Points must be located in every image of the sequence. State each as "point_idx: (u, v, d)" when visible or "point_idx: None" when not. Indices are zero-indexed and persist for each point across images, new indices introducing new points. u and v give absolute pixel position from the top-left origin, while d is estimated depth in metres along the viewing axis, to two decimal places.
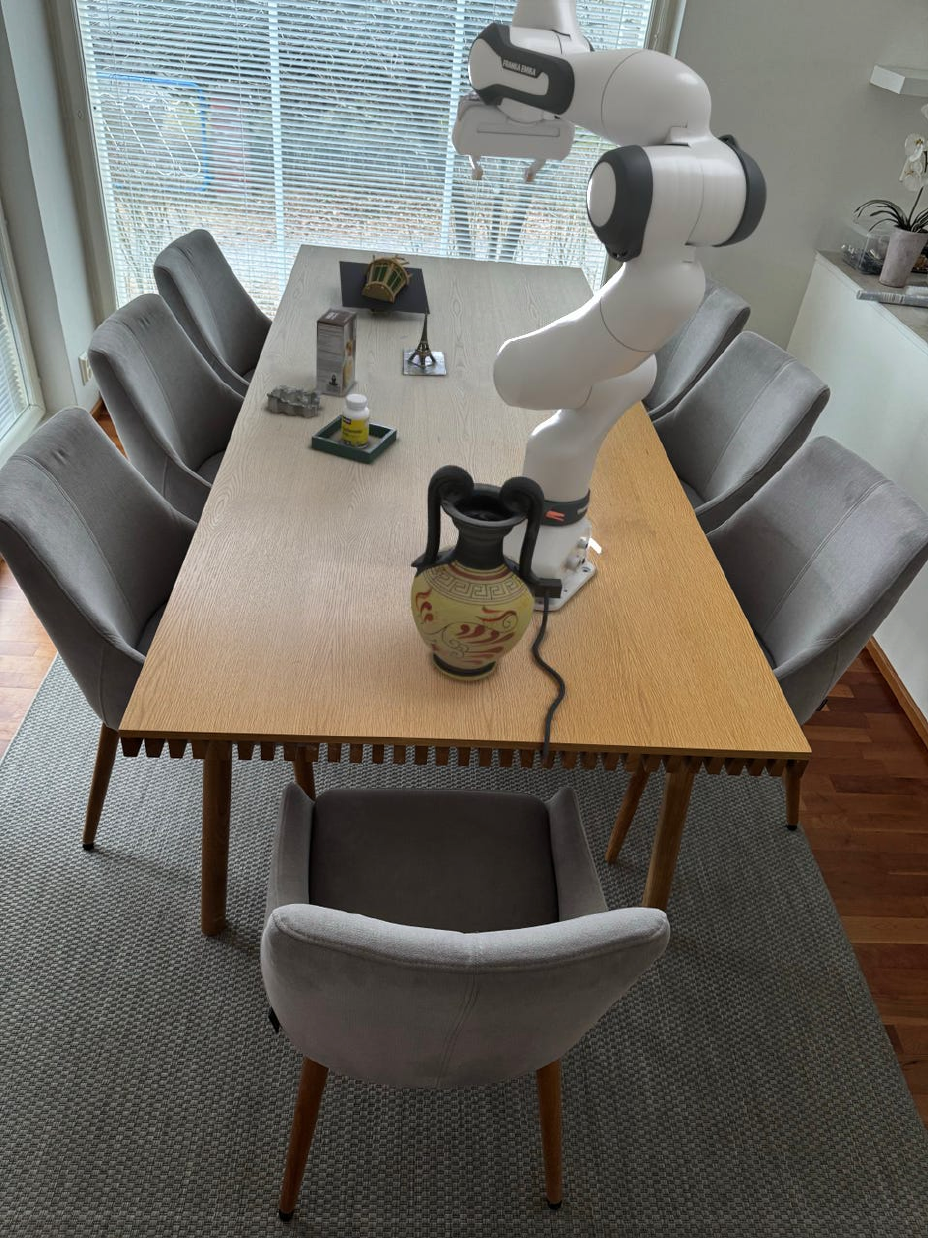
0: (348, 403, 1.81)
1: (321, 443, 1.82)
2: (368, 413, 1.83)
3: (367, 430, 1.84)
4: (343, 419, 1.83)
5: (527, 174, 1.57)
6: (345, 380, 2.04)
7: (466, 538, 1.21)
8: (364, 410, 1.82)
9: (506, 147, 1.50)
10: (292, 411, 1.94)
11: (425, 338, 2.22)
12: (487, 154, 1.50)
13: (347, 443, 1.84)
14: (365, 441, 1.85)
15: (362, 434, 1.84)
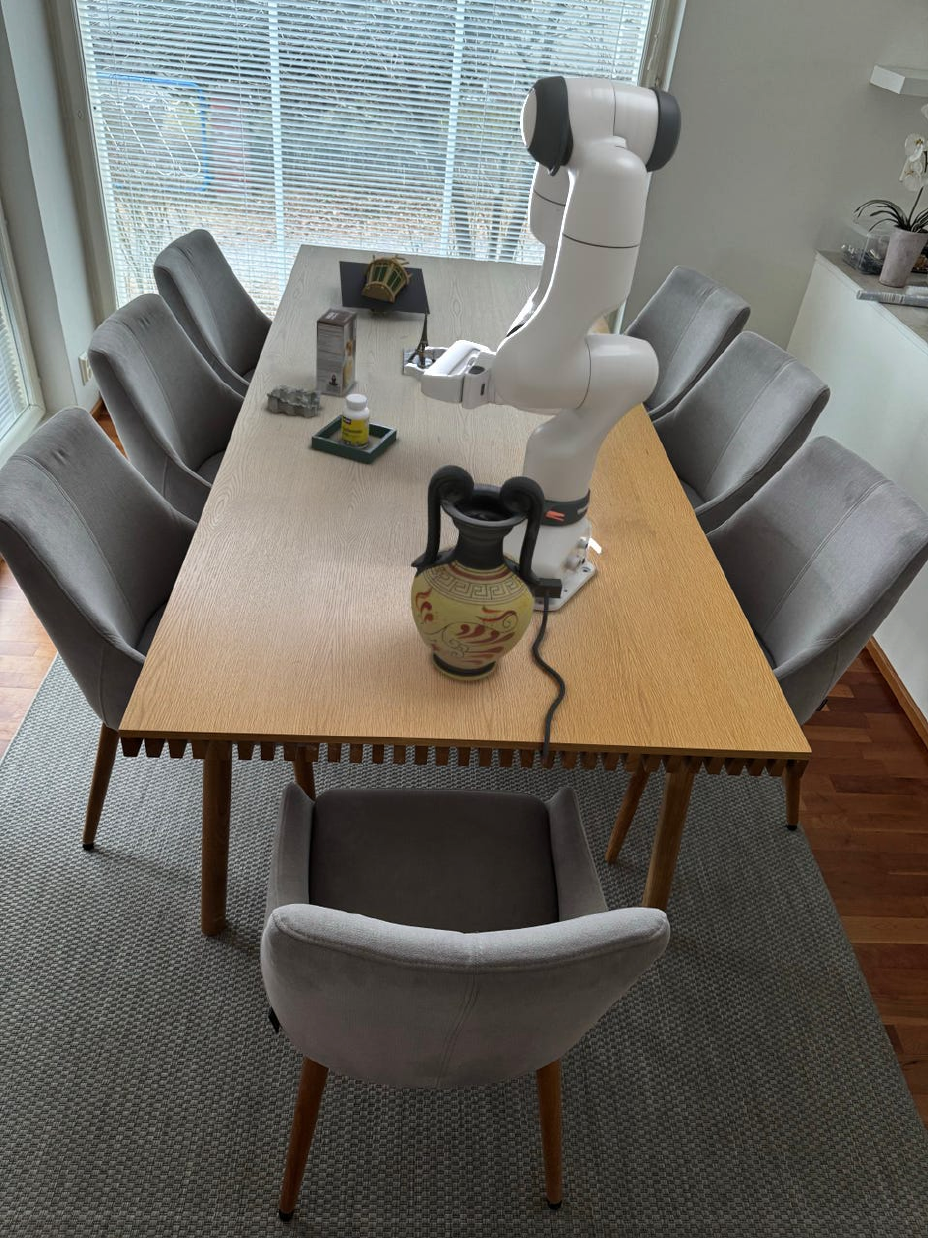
0: (348, 403, 1.81)
1: (321, 443, 1.82)
2: (368, 413, 1.83)
3: (367, 430, 1.84)
4: (343, 419, 1.83)
5: (415, 365, 1.68)
6: (345, 380, 2.04)
7: (466, 538, 1.21)
8: (364, 410, 1.82)
9: (452, 355, 1.71)
10: (292, 411, 1.94)
11: (425, 338, 2.22)
12: (450, 348, 1.73)
13: (347, 443, 1.84)
14: (365, 441, 1.85)
15: (362, 434, 1.84)
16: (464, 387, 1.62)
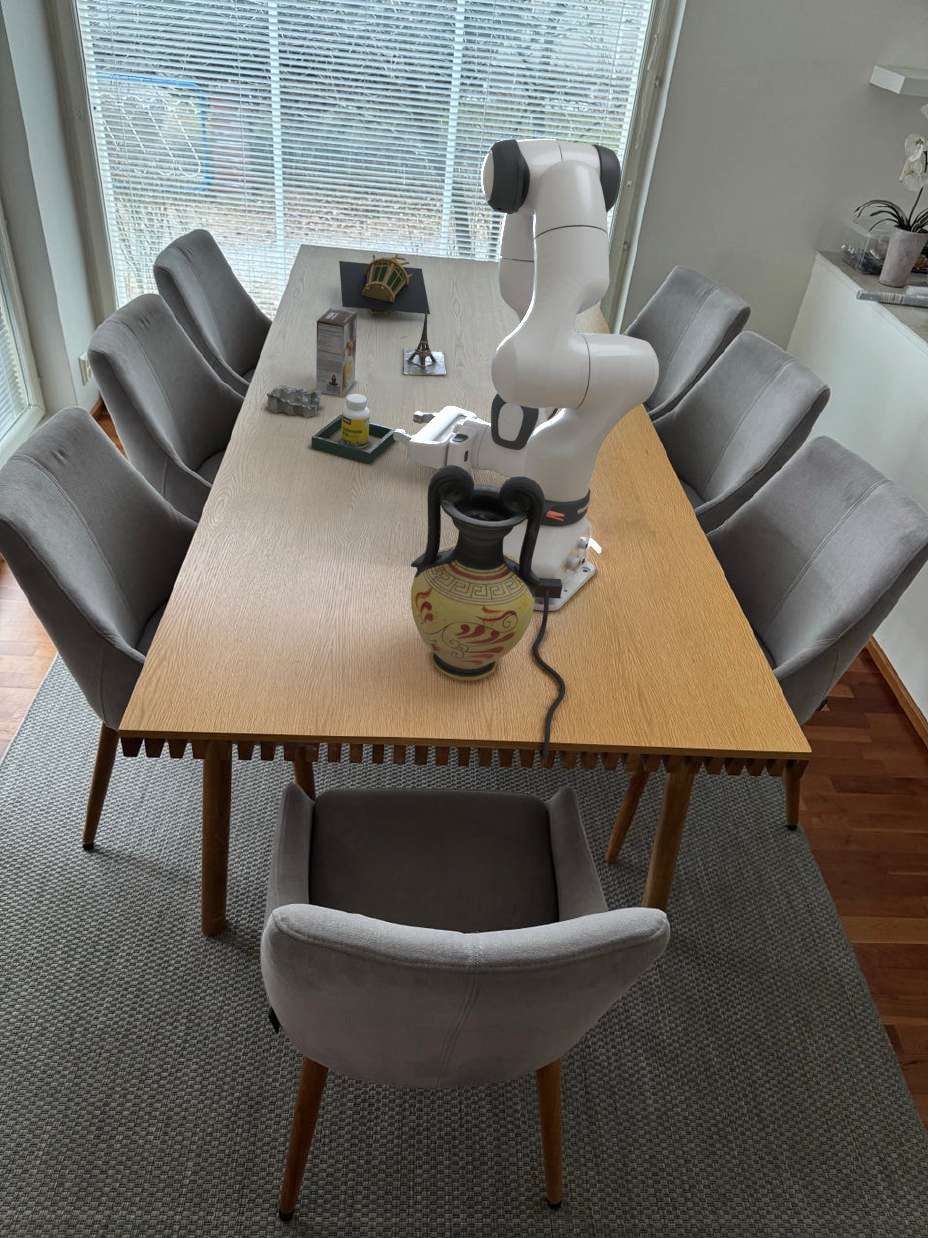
0: (348, 403, 1.81)
1: (321, 443, 1.82)
2: (368, 413, 1.83)
3: (367, 430, 1.84)
4: (343, 419, 1.83)
5: None
6: (345, 380, 2.04)
7: (466, 538, 1.21)
8: (364, 410, 1.82)
9: (439, 421, 1.79)
10: (292, 411, 1.94)
11: (425, 338, 2.22)
12: (438, 414, 1.82)
13: (347, 443, 1.84)
14: (365, 441, 1.85)
15: (362, 434, 1.84)
16: (448, 454, 1.71)
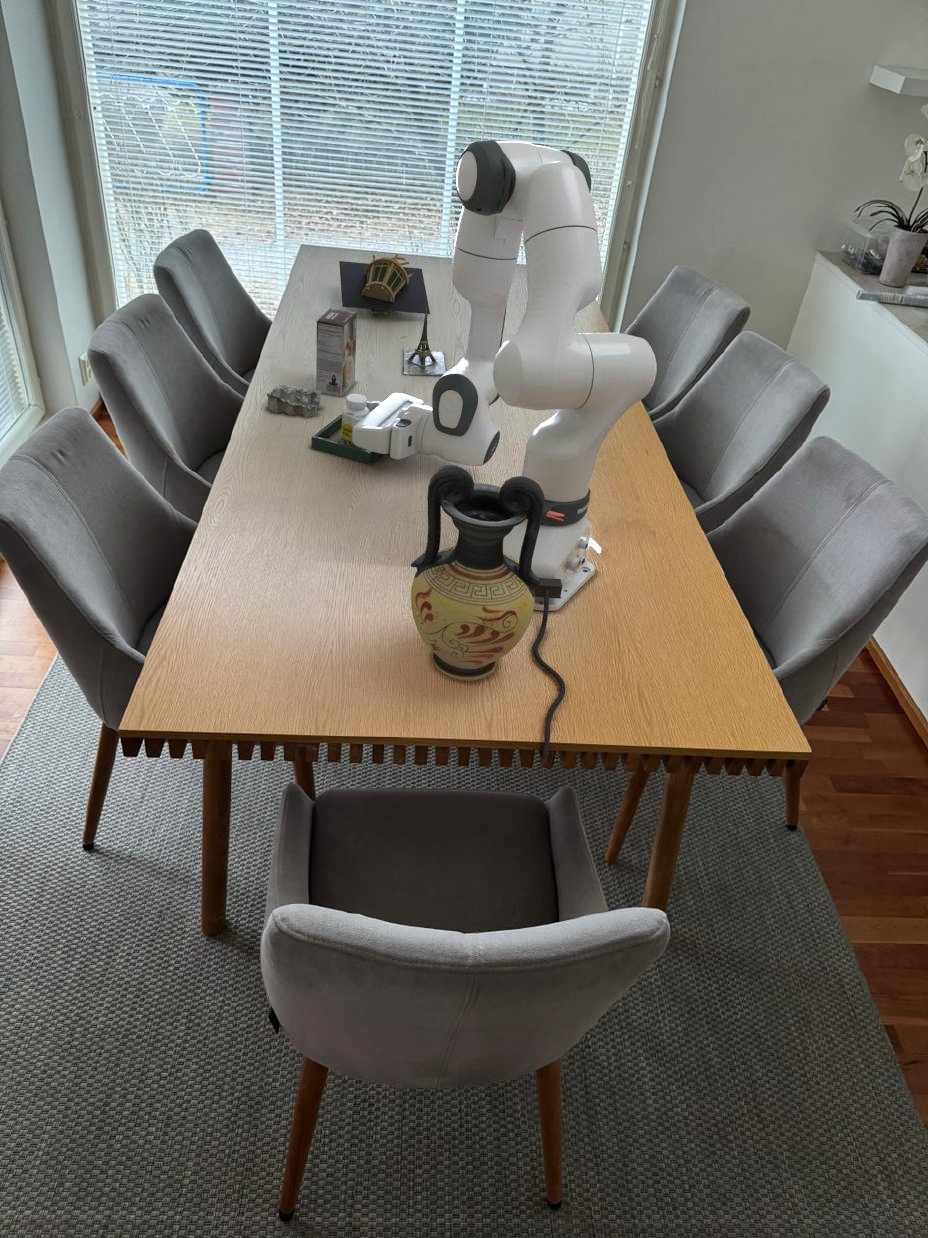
0: (348, 403, 1.81)
1: (321, 443, 1.82)
2: (368, 413, 1.83)
3: None
4: None
5: (352, 414, 1.80)
6: (345, 380, 2.04)
7: (466, 538, 1.21)
8: (364, 410, 1.82)
9: (385, 407, 1.82)
10: (292, 411, 1.94)
11: (425, 338, 2.22)
12: (385, 400, 1.84)
13: (347, 443, 1.84)
14: None
15: None
16: (391, 439, 1.73)
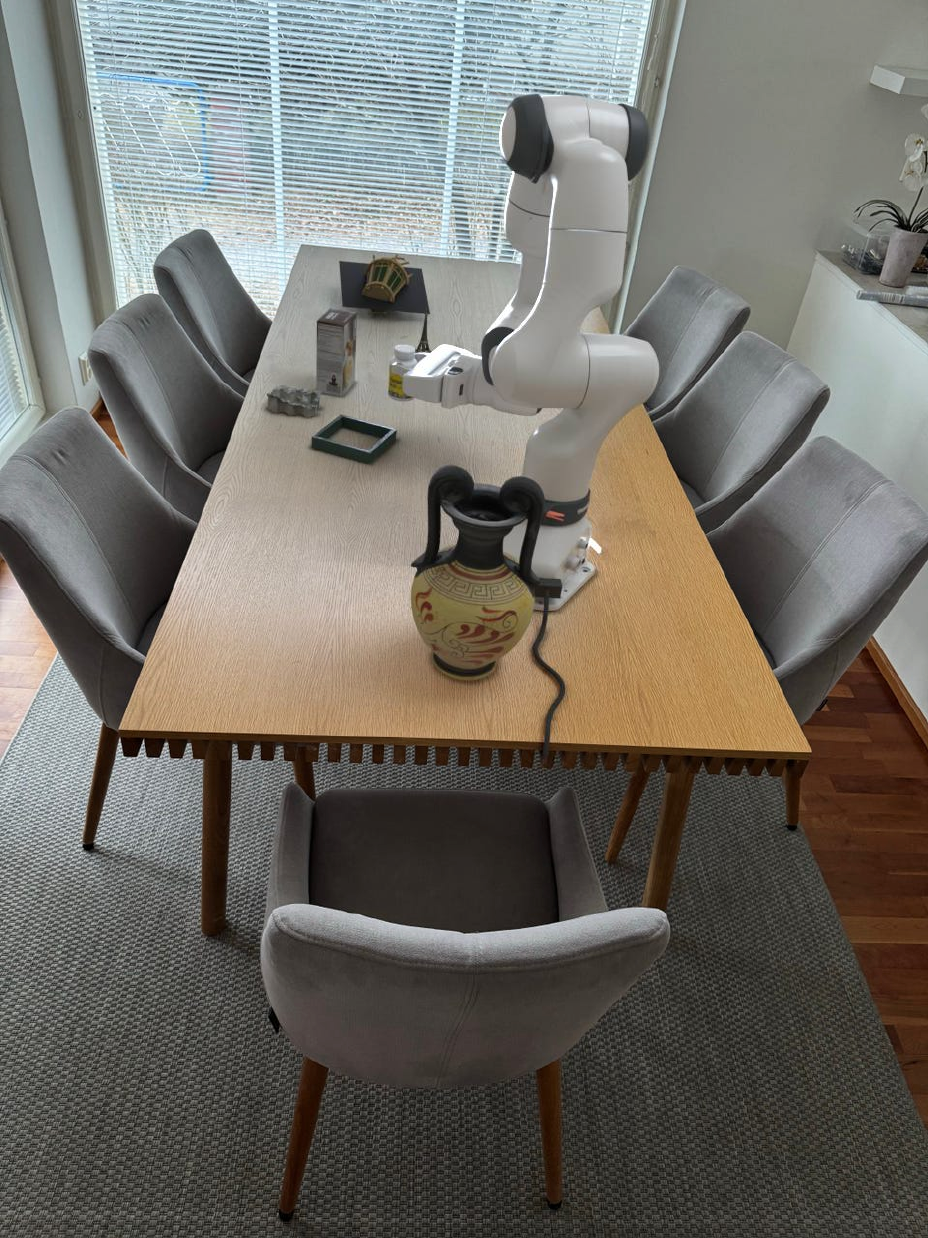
0: (396, 353, 1.77)
1: (321, 443, 1.82)
2: (416, 364, 1.79)
3: None
4: (390, 370, 1.79)
5: (401, 364, 1.77)
6: (345, 380, 2.04)
7: (466, 538, 1.21)
8: (412, 360, 1.79)
9: (434, 358, 1.78)
10: (292, 411, 1.94)
11: (425, 338, 2.22)
12: (433, 351, 1.81)
13: (395, 395, 1.81)
14: None
15: None
16: (443, 387, 1.70)
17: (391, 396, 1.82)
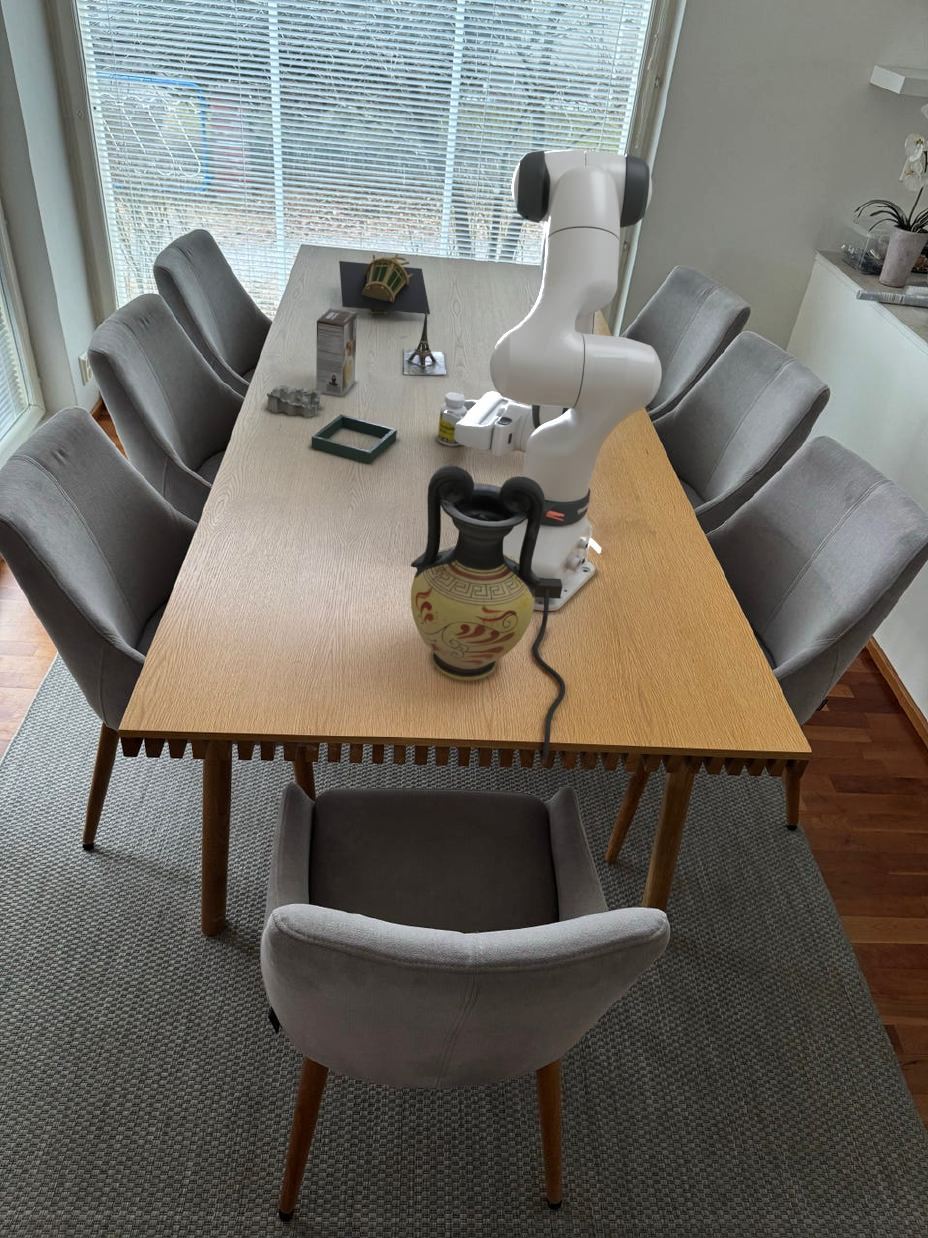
0: (447, 401, 1.86)
1: (321, 443, 1.82)
2: (466, 411, 1.88)
3: None
4: (441, 417, 1.88)
5: (451, 412, 1.86)
6: (345, 380, 2.04)
7: (466, 538, 1.21)
8: (462, 408, 1.88)
9: (482, 406, 1.88)
10: (292, 411, 1.94)
11: (425, 338, 2.22)
12: (481, 399, 1.90)
13: (445, 440, 1.90)
14: None
15: None
16: (493, 436, 1.79)
17: (441, 441, 1.91)
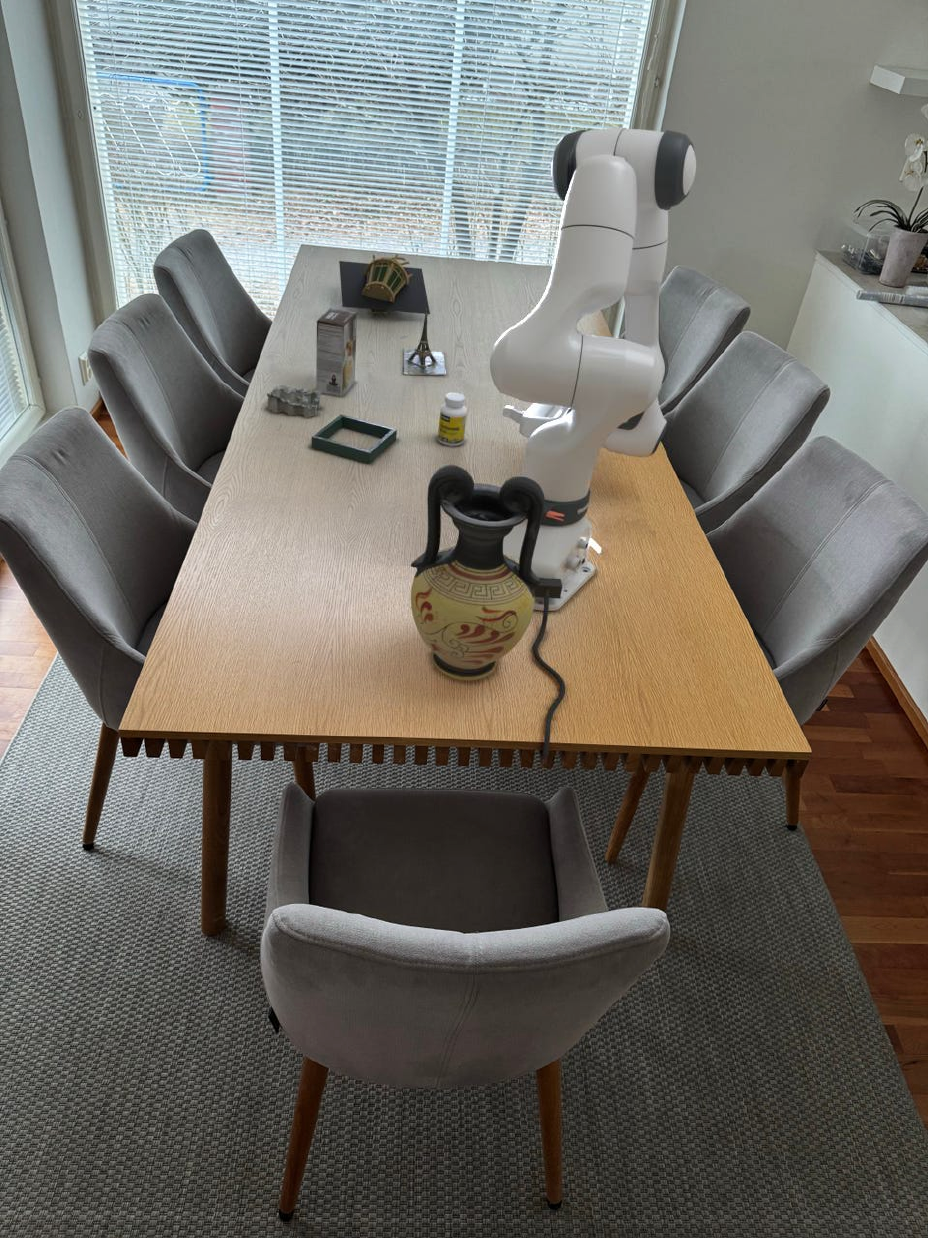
0: (447, 401, 1.86)
1: (321, 443, 1.82)
2: (466, 411, 1.88)
3: (464, 427, 1.90)
4: (441, 417, 1.88)
5: (512, 407, 1.78)
6: (345, 380, 2.04)
7: (466, 538, 1.21)
8: (462, 408, 1.88)
9: None
10: (292, 411, 1.94)
11: (425, 338, 2.22)
12: None
13: (445, 440, 1.90)
14: (461, 438, 1.91)
15: (460, 431, 1.89)
16: None
17: (441, 441, 1.91)
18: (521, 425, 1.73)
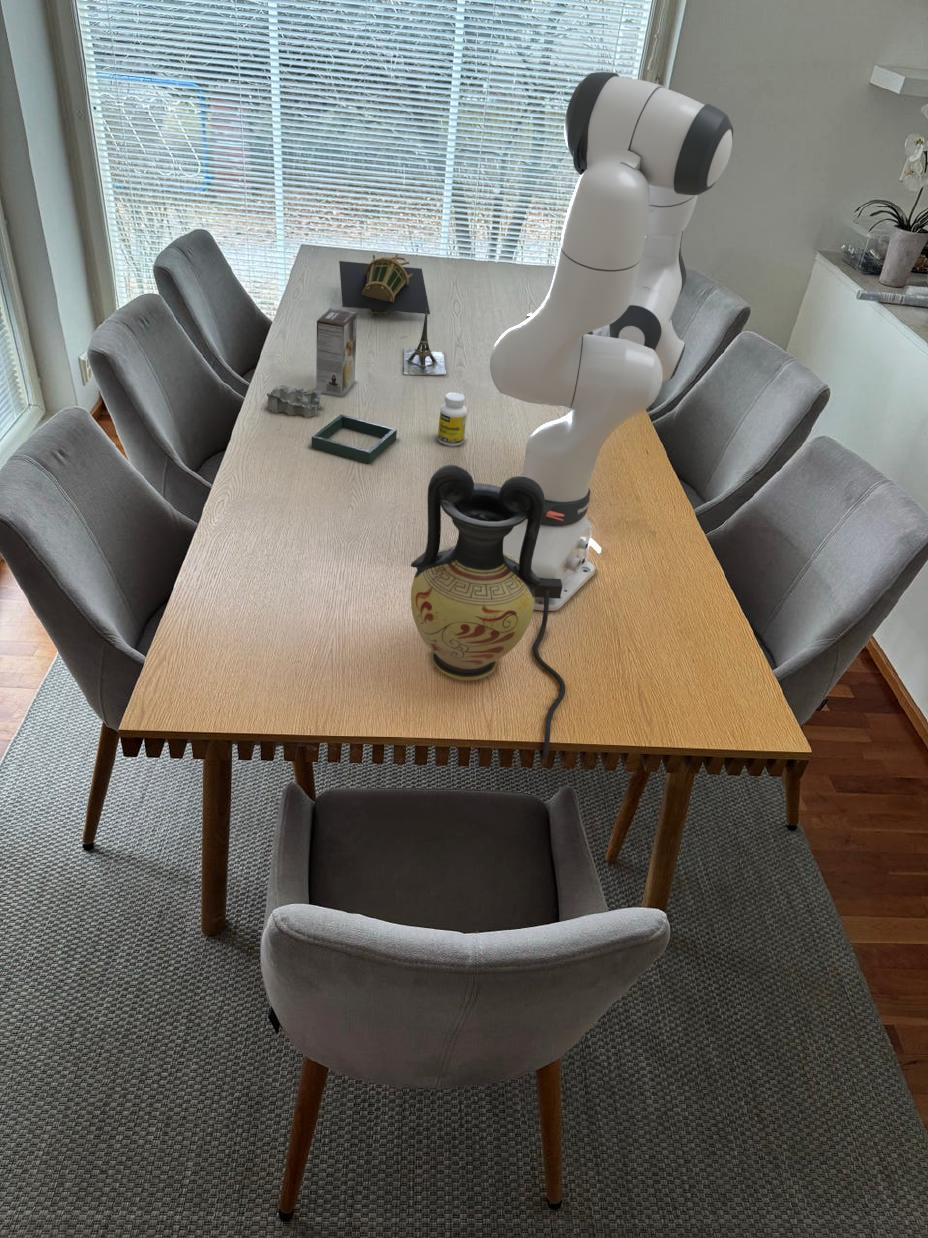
0: (447, 401, 1.86)
1: (321, 443, 1.82)
2: (466, 411, 1.88)
3: (464, 427, 1.90)
4: (441, 417, 1.88)
5: None
6: (345, 380, 2.04)
7: (466, 538, 1.21)
8: (462, 408, 1.88)
9: None
10: (292, 411, 1.94)
11: (425, 338, 2.22)
12: None
13: (445, 440, 1.90)
14: (461, 438, 1.91)
15: (460, 431, 1.89)
16: None
17: (441, 441, 1.91)
18: None
